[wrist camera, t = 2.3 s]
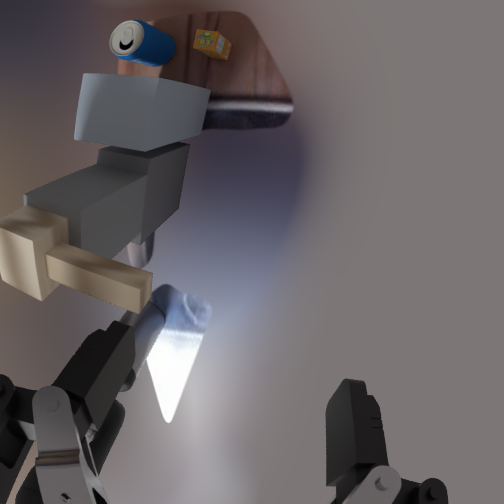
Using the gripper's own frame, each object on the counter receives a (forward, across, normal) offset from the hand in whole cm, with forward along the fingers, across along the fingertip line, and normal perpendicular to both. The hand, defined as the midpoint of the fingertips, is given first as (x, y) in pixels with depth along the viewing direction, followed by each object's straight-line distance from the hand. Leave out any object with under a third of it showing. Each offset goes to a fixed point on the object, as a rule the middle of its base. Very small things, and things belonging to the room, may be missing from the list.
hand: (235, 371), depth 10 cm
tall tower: (+42, -20, -6) cm, 48 cm away
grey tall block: (+43, -19, +6) cm, 47 cm away
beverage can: (+43, -25, +16) cm, 52 cm away
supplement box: (+43, -14, +17) cm, 48 cm away
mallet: (+13, -16, -6) cm, 21 cm away
